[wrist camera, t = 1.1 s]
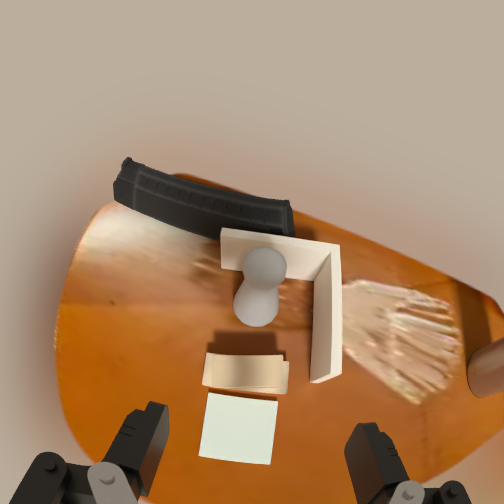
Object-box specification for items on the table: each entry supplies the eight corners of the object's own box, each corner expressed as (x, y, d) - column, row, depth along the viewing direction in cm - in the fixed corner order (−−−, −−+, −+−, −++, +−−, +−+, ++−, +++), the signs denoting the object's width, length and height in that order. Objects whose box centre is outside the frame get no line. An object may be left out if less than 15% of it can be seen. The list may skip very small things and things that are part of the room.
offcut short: (279, 358, 32) (282, 355, 30) (280, 387, 30) (284, 385, 28) (213, 358, 32) (212, 354, 30) (212, 387, 30) (211, 385, 28)
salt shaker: (271, 335, 35) (292, 295, 25) (228, 326, 36) (229, 282, 25) (278, 296, 39) (299, 242, 28) (238, 287, 39) (242, 231, 28)
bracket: (321, 275, 41) (339, 245, 34) (318, 383, 32) (341, 373, 26) (222, 261, 41) (222, 227, 34) (202, 369, 32) (194, 357, 26)
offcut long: (285, 364, 34) (289, 361, 32) (283, 394, 32) (286, 393, 30) (208, 355, 34) (206, 352, 32) (203, 385, 32) (202, 383, 30)
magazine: (325, 213, 36) (124, 116, 31) (322, 232, 34) (109, 129, 29) (272, 265, 50) (123, 192, 45) (267, 281, 48) (113, 205, 44)
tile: (277, 401, 31) (277, 401, 30) (269, 463, 26) (269, 464, 26) (208, 392, 31) (208, 392, 30) (199, 455, 26) (198, 455, 26)
